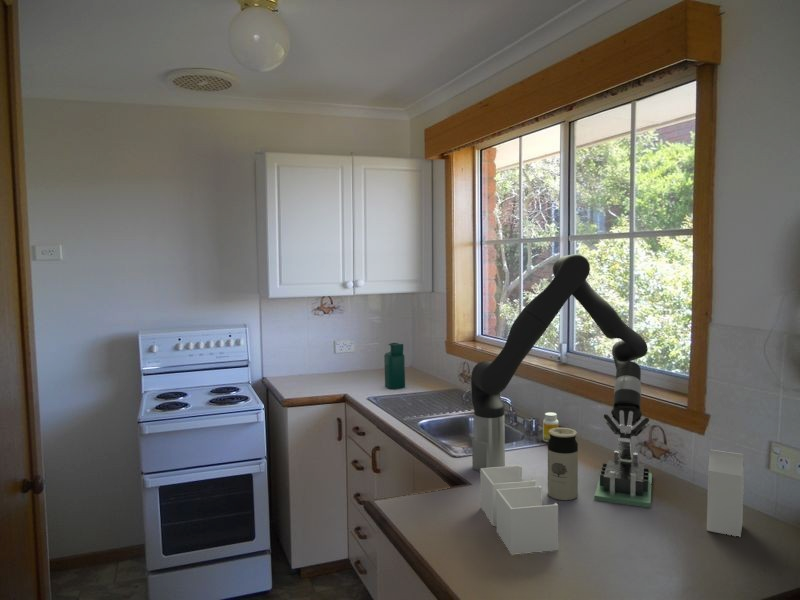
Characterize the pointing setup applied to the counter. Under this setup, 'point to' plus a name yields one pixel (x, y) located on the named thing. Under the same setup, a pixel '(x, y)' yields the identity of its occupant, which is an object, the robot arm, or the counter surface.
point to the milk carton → (725, 492)
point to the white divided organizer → (518, 510)
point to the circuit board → (624, 496)
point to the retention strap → (625, 449)
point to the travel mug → (562, 464)
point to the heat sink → (624, 476)
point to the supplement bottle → (549, 424)
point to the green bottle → (395, 367)
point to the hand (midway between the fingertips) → (625, 447)
